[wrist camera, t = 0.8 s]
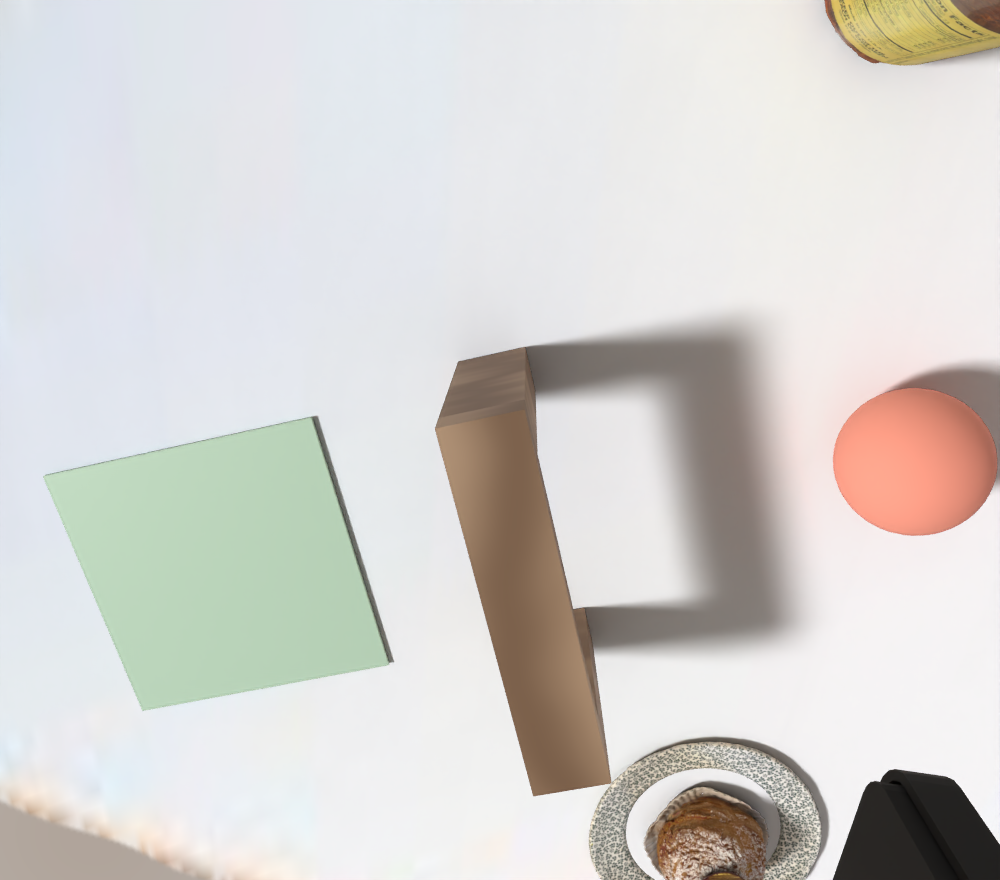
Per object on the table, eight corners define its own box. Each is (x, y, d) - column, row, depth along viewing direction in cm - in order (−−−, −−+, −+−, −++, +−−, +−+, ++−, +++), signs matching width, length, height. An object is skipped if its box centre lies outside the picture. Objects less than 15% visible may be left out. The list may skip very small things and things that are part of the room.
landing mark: (312, 416, 38) (311, 418, 37) (389, 662, 42) (388, 665, 41) (45, 474, 39) (43, 476, 39) (144, 708, 43) (142, 710, 43)
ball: (947, 359, 36) (1026, 396, 30) (956, 486, 38) (1032, 544, 32) (806, 389, 37) (857, 430, 31) (821, 513, 38) (872, 574, 33)
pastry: (683, 945, 47) (699, 1024, 43) (541, 815, 45) (542, 886, 41) (860, 833, 45) (896, 906, 40) (718, 688, 42) (741, 749, 38)
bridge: (525, 346, 36) (524, 409, 27) (592, 643, 41) (611, 783, 32) (458, 361, 37) (434, 428, 27) (532, 654, 41) (533, 796, 32)
